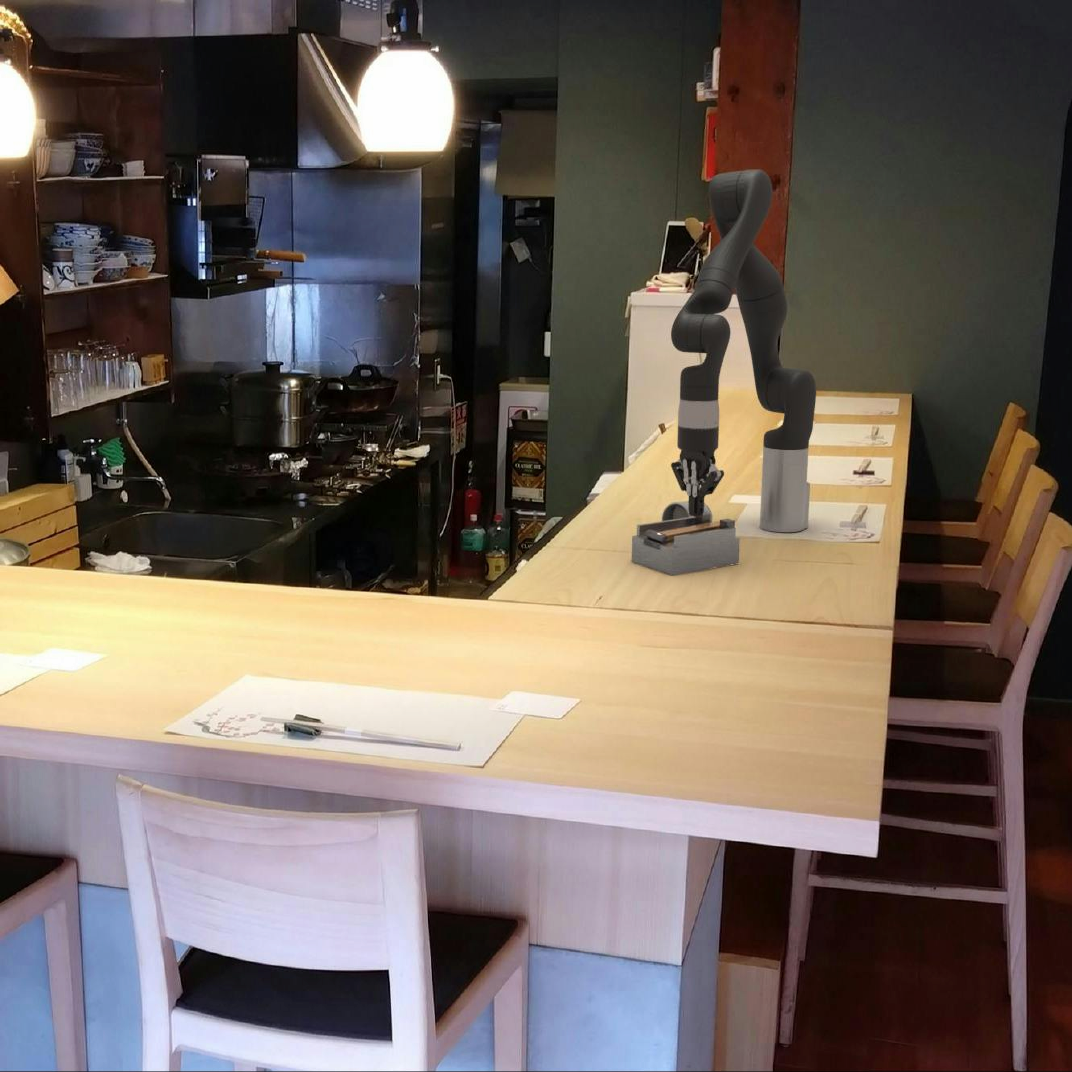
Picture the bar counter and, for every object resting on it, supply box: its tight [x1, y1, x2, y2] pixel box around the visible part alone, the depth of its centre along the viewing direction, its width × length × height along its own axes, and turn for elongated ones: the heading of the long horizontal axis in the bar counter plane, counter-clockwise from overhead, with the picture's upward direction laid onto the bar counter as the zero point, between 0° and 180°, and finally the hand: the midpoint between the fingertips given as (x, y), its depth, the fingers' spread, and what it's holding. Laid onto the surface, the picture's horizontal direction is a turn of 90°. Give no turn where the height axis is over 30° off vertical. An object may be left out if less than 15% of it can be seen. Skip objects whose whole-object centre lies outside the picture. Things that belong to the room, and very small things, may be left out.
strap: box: [646, 520, 720, 543], centre depth 251 cm, size 17×4×2 cm, turn 123°
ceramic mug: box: [661, 500, 713, 522], centre depth 274 cm, size 11×8×8 cm
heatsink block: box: [631, 512, 741, 576], centre depth 252 cm, size 16×12×8 cm
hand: (695, 515), depth 252 cm, fingers closed
